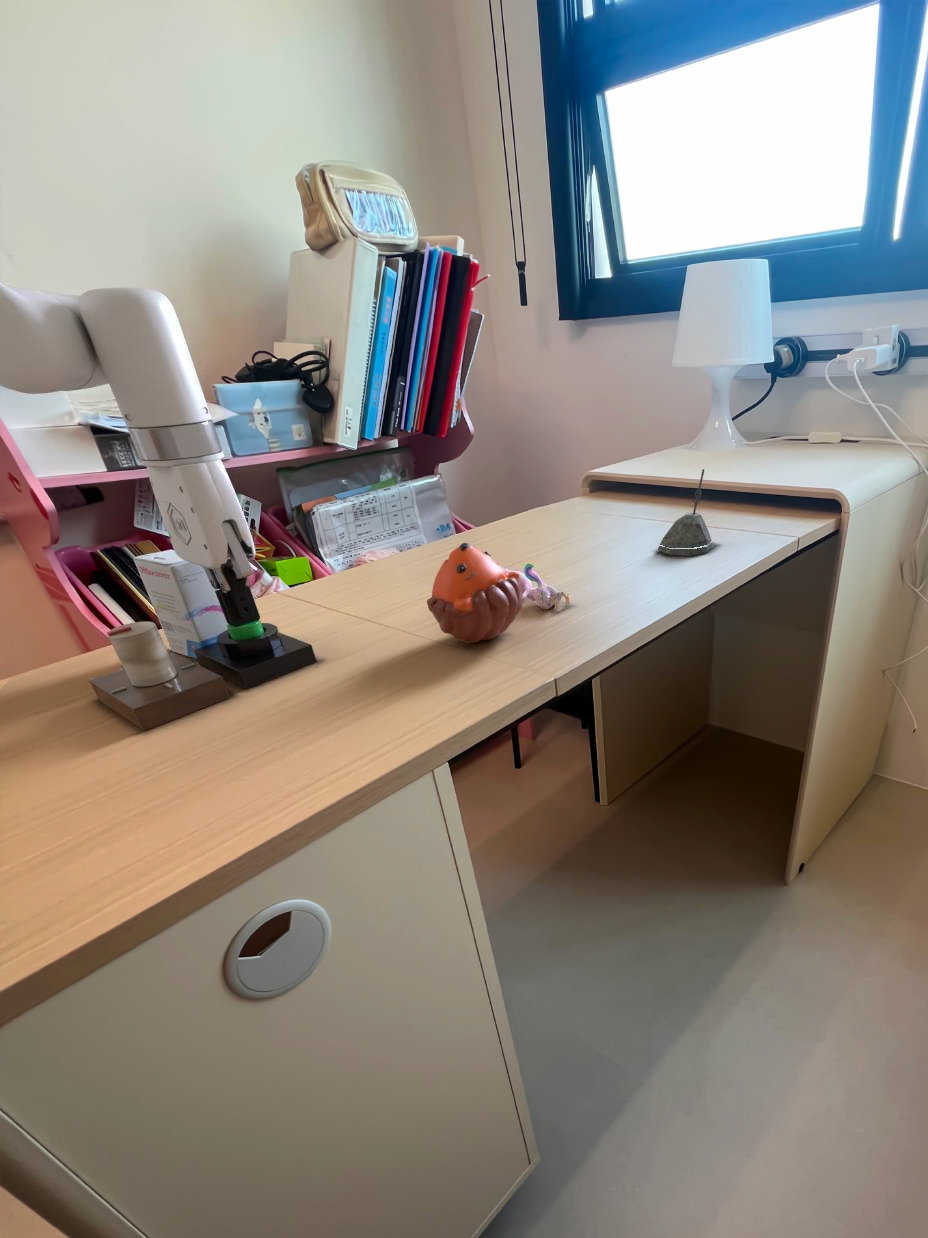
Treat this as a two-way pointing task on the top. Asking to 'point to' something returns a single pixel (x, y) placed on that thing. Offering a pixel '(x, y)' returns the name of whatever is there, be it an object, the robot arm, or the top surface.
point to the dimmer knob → (142, 653)
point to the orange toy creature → (474, 595)
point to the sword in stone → (688, 533)
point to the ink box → (182, 601)
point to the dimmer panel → (161, 694)
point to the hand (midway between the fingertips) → (244, 621)
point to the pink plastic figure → (538, 589)
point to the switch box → (255, 656)
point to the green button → (245, 630)
